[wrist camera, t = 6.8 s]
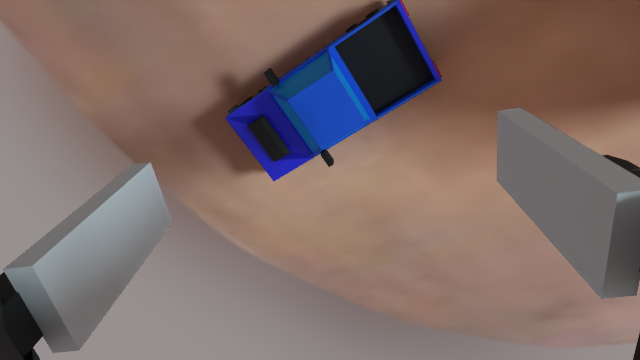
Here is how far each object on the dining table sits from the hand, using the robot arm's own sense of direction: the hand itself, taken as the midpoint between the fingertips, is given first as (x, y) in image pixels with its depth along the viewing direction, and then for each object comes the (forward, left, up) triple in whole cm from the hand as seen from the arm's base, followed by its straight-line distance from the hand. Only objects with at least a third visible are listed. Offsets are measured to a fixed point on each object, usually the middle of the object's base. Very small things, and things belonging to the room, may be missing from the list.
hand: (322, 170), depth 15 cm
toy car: (0, 0, -12) cm, 12 cm away
